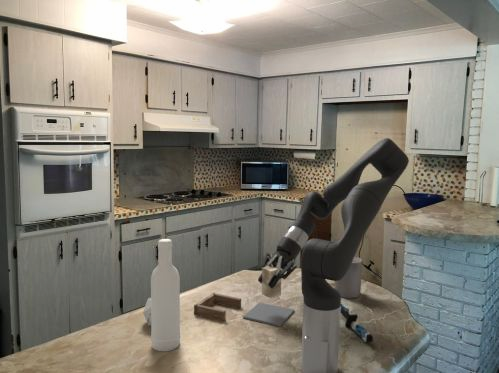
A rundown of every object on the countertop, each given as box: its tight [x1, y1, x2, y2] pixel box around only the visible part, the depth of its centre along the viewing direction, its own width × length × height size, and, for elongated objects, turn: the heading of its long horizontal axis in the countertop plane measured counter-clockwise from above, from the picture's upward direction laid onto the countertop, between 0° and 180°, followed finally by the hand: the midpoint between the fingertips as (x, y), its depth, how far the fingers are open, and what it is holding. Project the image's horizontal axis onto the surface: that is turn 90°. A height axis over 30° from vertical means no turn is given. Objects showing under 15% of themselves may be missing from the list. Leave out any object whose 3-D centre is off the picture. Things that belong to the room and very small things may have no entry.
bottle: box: [150, 238, 181, 352], centre depth 115 cm, size 8×8×30 cm
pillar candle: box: [334, 256, 363, 299], centre depth 157 cm, size 10×10×15 cm
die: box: [142, 297, 151, 327], centre depth 130 cm, size 8×9×10 cm
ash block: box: [261, 264, 282, 299], centre depth 137 cm, size 4×4×9 cm
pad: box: [242, 302, 295, 327], centre depth 138 cm, size 13×13×1 cm
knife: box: [340, 303, 374, 343], centre depth 132 cm, size 31×3×4 cm, turn 11°
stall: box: [193, 292, 242, 322], centre depth 140 cm, size 12×11×3 cm
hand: (264, 284), depth 135 cm, fingers closed on ash block, 4 cm apart
